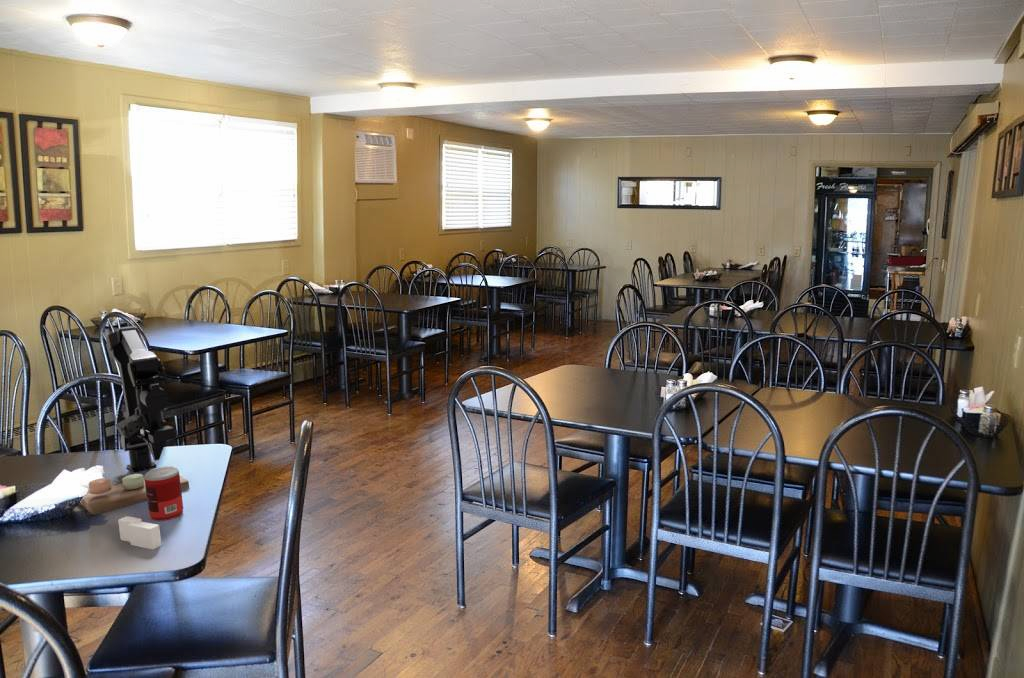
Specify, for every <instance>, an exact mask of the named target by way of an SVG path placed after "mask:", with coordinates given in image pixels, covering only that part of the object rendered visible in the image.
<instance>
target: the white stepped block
mask: <svg viewBox="0 0 1024 678" xmlns="http://www.w3.org/2000/svg"><path fill="white" fill-rule="evenodd" d="M117 523H118V529H119V537H120V540H121V541H125V542H129V543H130V545H131V546H136V547H140V548H144V549H149V550H155V549H156V548H159V547H161V546H162V538H161V530H160V529H161V528H160V524H156V523H151V522H145V521H142V518H139V517H134V516H128V515H125V516H124V517H121V518H120V519H118V520H117Z"/></svg>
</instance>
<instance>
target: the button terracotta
mask: <svg viewBox="0 0 1024 678" xmlns="http://www.w3.org/2000/svg"><path fill="white" fill-rule="evenodd" d="M111 486H112V482H111V478H108V477H107V478H105V477H103V478H96V479H93V480H91V481H89V482H88V489H89V490H88V492H90V494H102V493H106V492H108V491H110V490H111V489H112V488H111Z"/></svg>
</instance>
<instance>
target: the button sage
mask: <svg viewBox="0 0 1024 678" xmlns="http://www.w3.org/2000/svg"><path fill="white" fill-rule="evenodd" d="M143 478H144V474H142V473H134V474H127V475H126V476H124V477H122V478H121V480H122V483H123V488H124V489H127V490H130V489H137V488H140V487H142V486H143V485H144V479H143Z"/></svg>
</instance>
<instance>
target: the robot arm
mask: <svg viewBox="0 0 1024 678" xmlns="http://www.w3.org/2000/svg"><path fill="white" fill-rule="evenodd" d="M105 340H106V341H105V342H106V347H107V351H109V353H110V357H111V358H112V359H113V360H114V361H115V362H116V364H118V368H119V373H120V381H121V385H122V387H121V388H122V393H123V397H124V405H125V411H126V415H125V418H124V419H122V420H121V421H119V422H117V424H115V427H116V429H117V431H118V433H119V434H120V445H121V448H122V450H123V451H124V452H128V456H129V464H126V468H127V469H129V470H130V471H132V472H134V473H135V472H138V471H143V470H147V469H151V468H156V467H157V464H156V463H155V462H153V461H159V460H160V458H161V456H162V454H163V450H164V448H165V446H166V443H167V441H170V440H175V439H178V438H179V435H178V430H177V429H176V428H174V427H173V426H170V425H167V421H166V420H164V413H163V411H165V410H166V408H167V406H168V405H169V403H170V395H169V394H168V393H167V391H166V390H165V389H163V388H162V387H161V383H167V376H168V375H167V371H166V369H165V365H164V363H163V362H162V360H161V359H160V358H158V356H157V355H156V353H155V352H154V351H152V350H151V351H150V350H147V348H146V347H145V345H144V342H143V340H142V336H141V331H140V330H139V329H138V326H134V325H133V326H125V327H118V328H117V329H116V330H115V331H114V332H111V333H110V334H108V335H107V337H106V339H105ZM152 458H153V461H152Z"/></svg>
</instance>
